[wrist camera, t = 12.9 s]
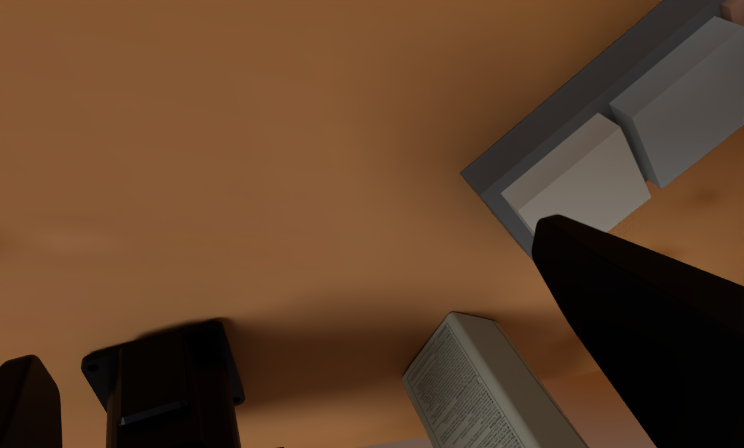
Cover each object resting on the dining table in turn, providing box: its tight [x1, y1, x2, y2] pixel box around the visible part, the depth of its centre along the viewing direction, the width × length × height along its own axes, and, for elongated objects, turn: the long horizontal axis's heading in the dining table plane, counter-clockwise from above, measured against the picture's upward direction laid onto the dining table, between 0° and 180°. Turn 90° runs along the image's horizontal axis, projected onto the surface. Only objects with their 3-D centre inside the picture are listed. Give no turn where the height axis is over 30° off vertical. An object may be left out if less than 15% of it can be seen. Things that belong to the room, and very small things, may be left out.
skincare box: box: [402, 312, 589, 448], centre depth 30 cm, size 6×4×12 cm
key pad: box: [460, 0, 744, 260], centre depth 26 cm, size 20×7×4 cm, turn 127°
